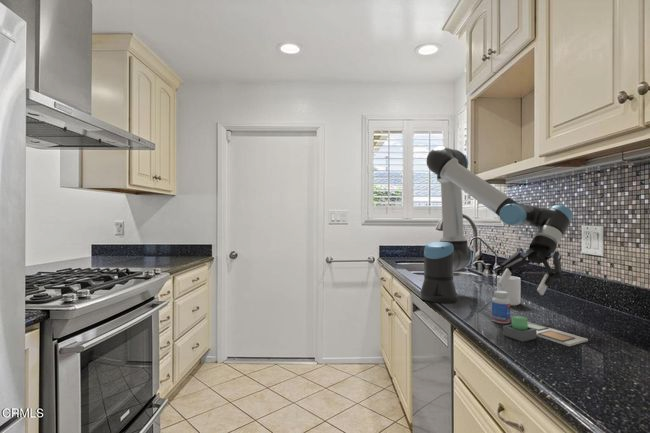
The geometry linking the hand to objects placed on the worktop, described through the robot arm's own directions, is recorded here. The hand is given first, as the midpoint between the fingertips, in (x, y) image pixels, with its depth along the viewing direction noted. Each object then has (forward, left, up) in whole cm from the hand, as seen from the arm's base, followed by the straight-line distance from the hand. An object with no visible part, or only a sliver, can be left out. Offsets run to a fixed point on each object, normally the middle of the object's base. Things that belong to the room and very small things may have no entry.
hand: (519, 288), depth 114 cm
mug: (-18, +19, -11) cm, 28 cm away
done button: (+10, -15, -9) cm, 20 cm away
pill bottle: (-2, -7, -11) cm, 13 cm away
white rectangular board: (+12, -5, -10) cm, 17 cm away
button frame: (+10, -15, -11) cm, 21 cm away
